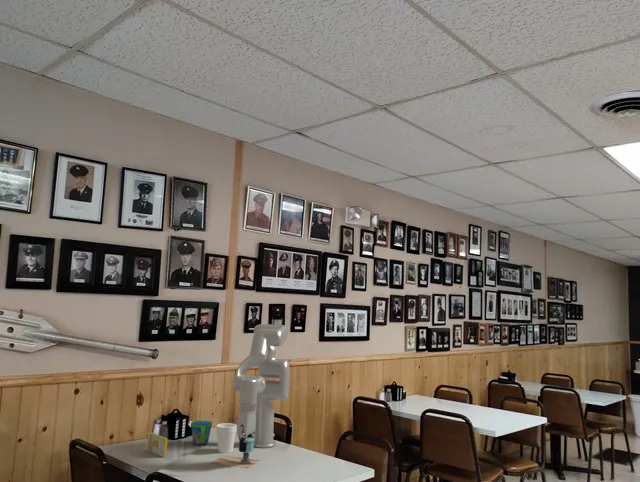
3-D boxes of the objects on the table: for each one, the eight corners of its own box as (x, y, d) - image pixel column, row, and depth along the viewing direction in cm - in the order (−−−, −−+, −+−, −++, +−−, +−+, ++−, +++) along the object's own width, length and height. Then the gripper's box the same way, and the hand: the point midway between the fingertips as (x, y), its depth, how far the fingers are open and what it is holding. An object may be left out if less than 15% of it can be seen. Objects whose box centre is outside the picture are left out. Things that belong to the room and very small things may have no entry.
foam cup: (218, 457, 240) (219, 428, 242) (212, 452, 248) (214, 424, 250) (238, 455, 245) (239, 426, 246) (231, 450, 253) (233, 422, 254)
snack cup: (211, 447, 257) (212, 425, 259) (189, 448, 255) (190, 426, 256) (210, 439, 273) (211, 419, 274) (189, 440, 270) (190, 419, 271)
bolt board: (223, 459, 238) (223, 446, 239) (259, 463, 233) (260, 450, 233) (210, 466, 227) (210, 453, 227) (248, 471, 221) (248, 458, 222)
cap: (242, 448, 233) (243, 436, 233) (255, 449, 231) (255, 438, 231) (236, 451, 227) (236, 439, 227) (249, 453, 225) (250, 441, 226)
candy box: (167, 457, 240) (168, 438, 241) (162, 457, 238) (163, 439, 239) (150, 449, 251) (151, 431, 252) (146, 450, 250) (147, 432, 251)
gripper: (248, 403, 241) (246, 444, 238) (231, 409, 224) (229, 453, 222) (263, 404, 238) (261, 445, 236) (247, 411, 222) (245, 455, 220)
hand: (246, 449), depth 229 cm, fingers closed on cap, 6 cm apart
